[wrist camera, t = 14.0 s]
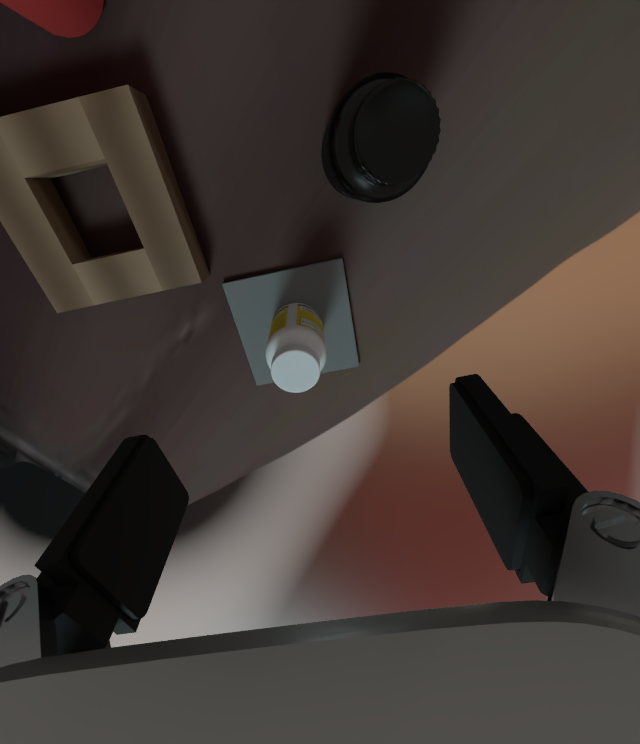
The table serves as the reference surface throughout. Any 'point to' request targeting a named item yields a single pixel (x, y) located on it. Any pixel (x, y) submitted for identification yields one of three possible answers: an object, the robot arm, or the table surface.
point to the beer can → (60, 14)
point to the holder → (134, 181)
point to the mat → (296, 285)
